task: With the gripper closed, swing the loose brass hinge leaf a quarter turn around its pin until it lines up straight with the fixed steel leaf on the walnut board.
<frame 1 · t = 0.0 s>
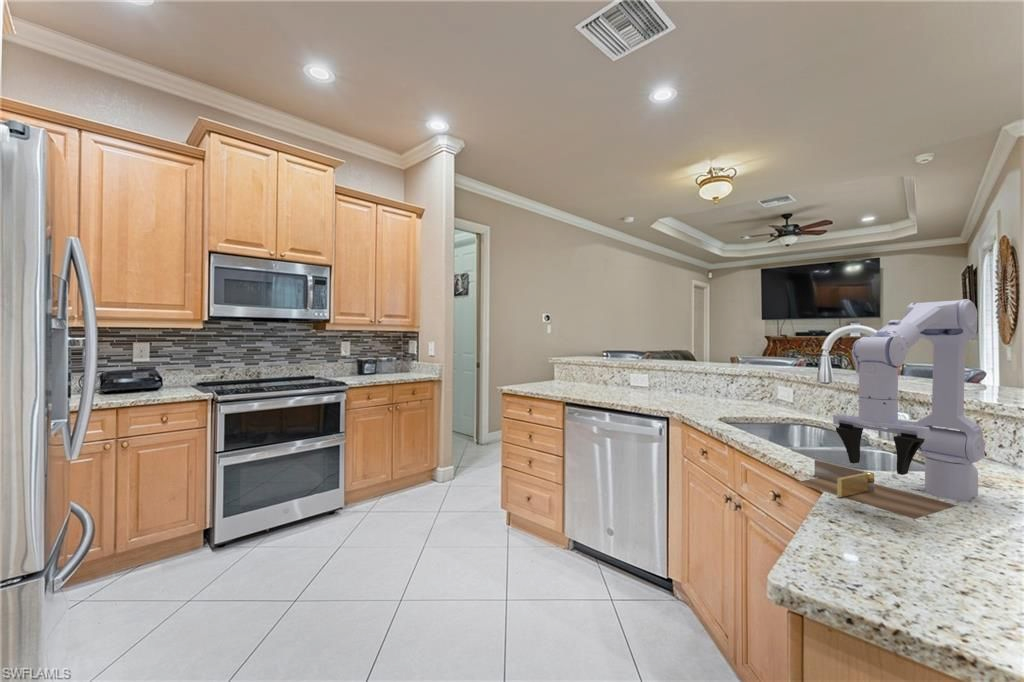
hand: (877, 468, 80), 10 cm above the counter, fingers open, 7 cm apart
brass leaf: (855, 484, 91), point 3 cm above the counter, hinge at 0.0°
hinge base: (868, 495, 93), on the counter
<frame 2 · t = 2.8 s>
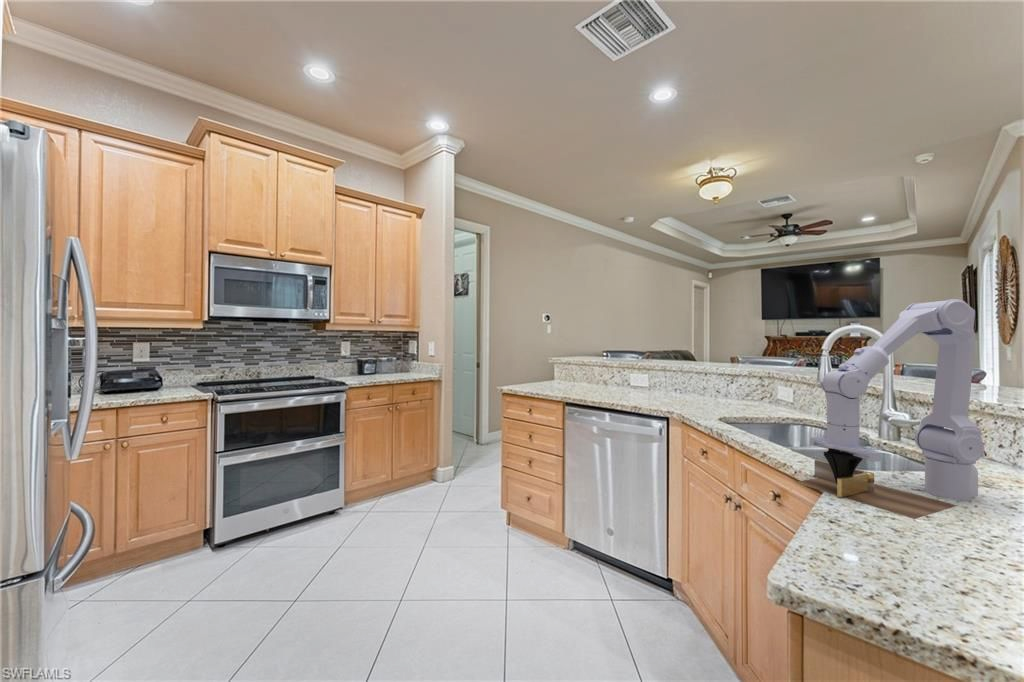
hand: (842, 485, 92), 2 cm above the counter, fingers closed, pressing on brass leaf
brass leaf: (855, 484, 91), point 3 cm above the counter, hinge at 0.0°, touching gripper
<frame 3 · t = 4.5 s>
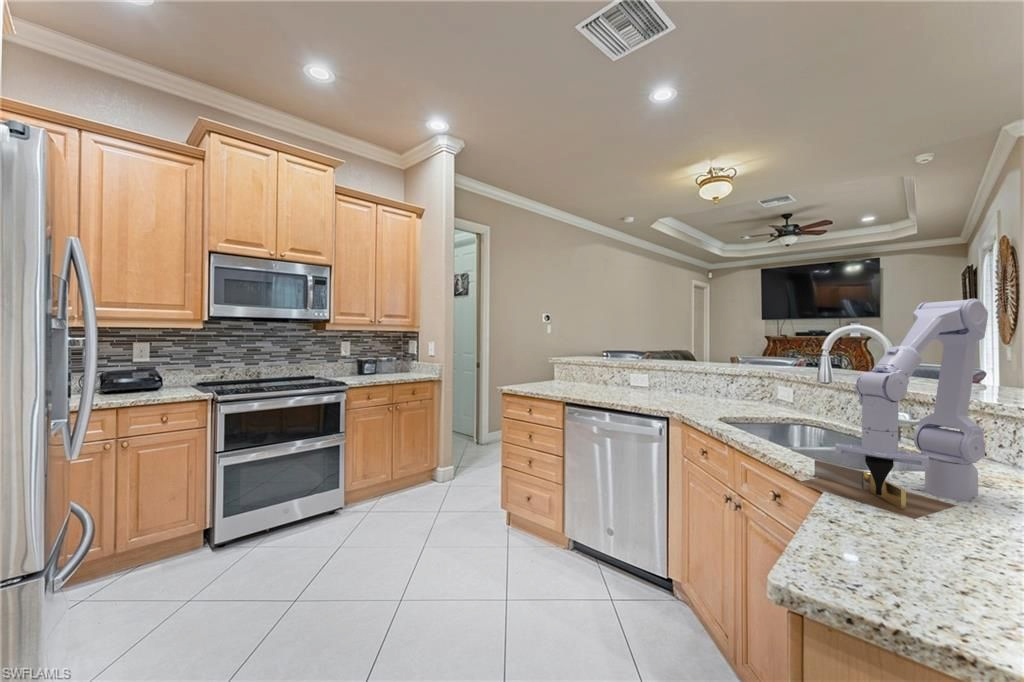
hand: (878, 493, 87), 3 cm above the counter, fingers closed
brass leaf: (883, 489, 88), point 3 cm above the counter, hinge at 53.0°, touching gripper
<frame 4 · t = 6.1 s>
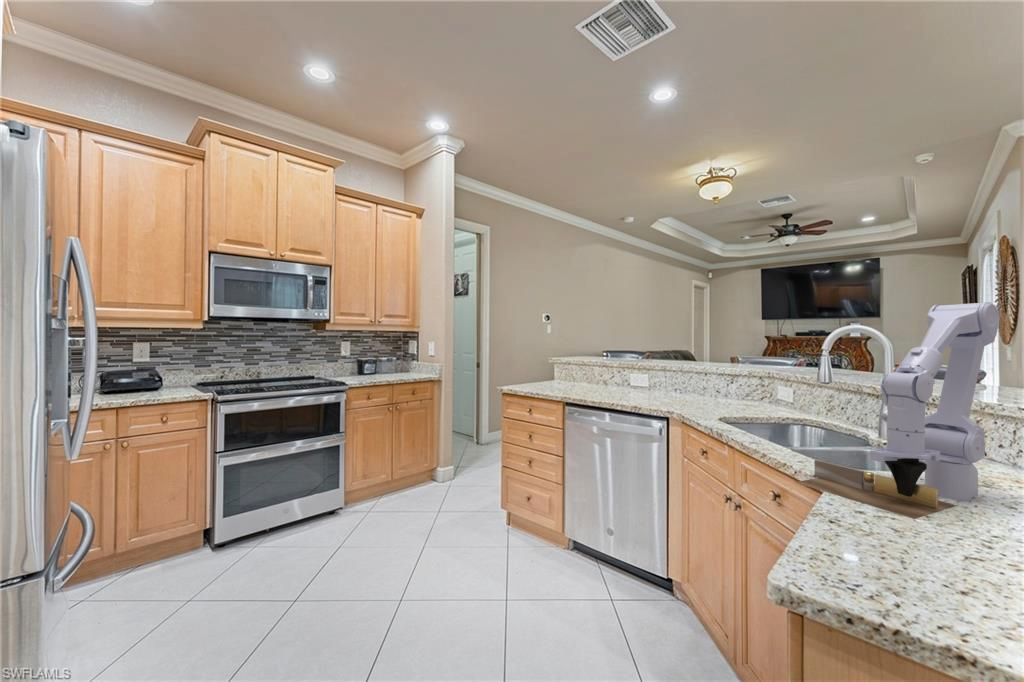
hand: (904, 495, 86), 3 cm above the counter, fingers closed
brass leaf: (898, 488, 88), point 3 cm above the counter, hinge at 92.8°, touching gripper
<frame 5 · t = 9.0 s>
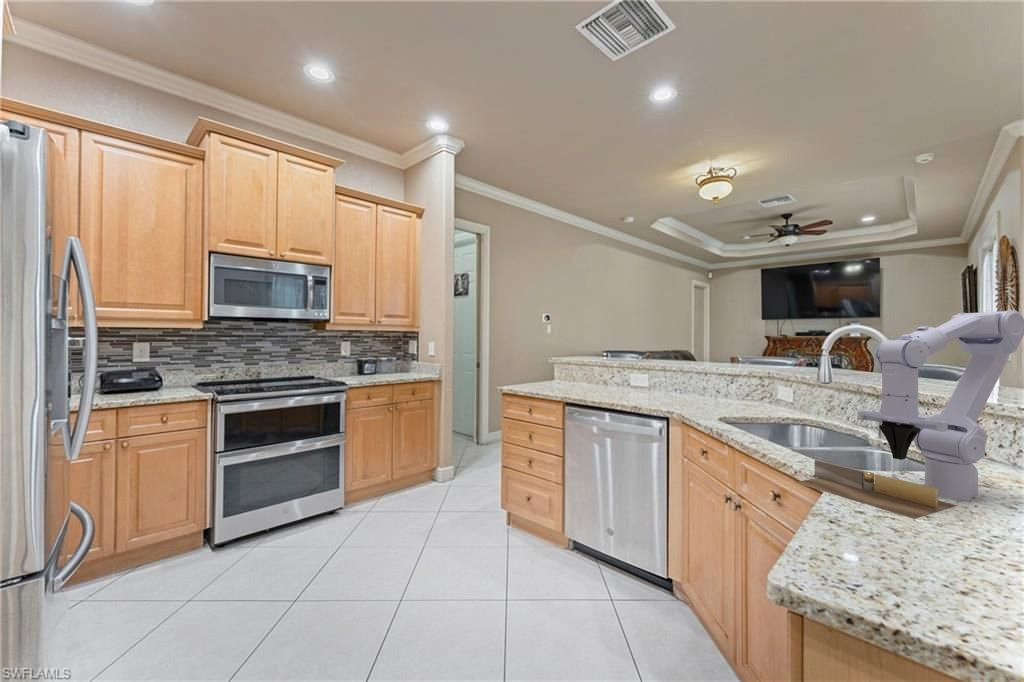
hand: (899, 458, 89), 9 cm above the counter, fingers closed
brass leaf: (898, 488, 88), point 3 cm above the counter, hinge at 92.7°
at the end: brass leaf at +93° (first picture: +0°) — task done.
